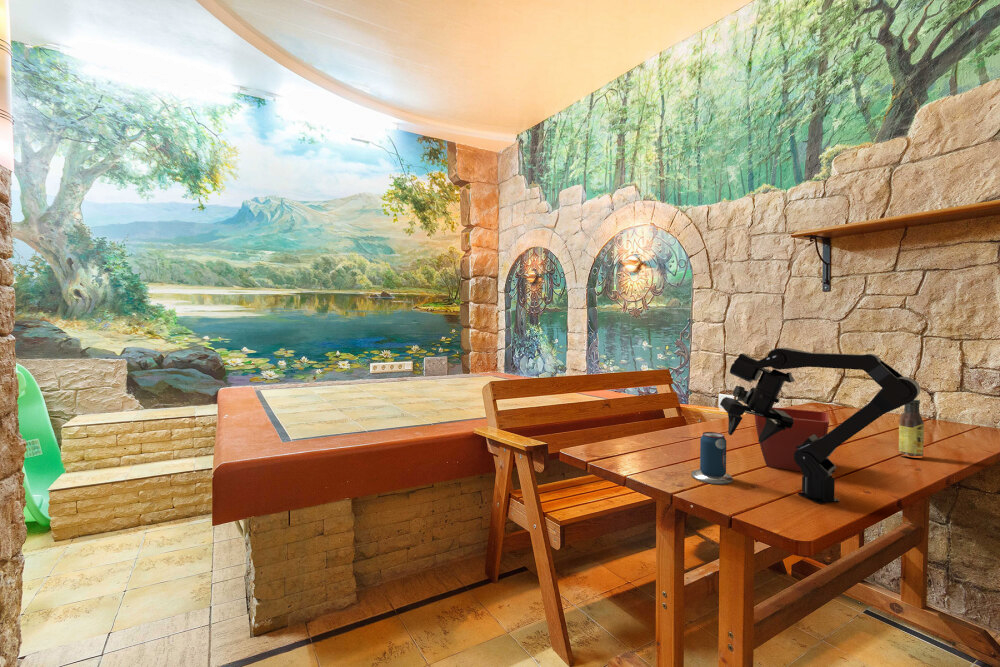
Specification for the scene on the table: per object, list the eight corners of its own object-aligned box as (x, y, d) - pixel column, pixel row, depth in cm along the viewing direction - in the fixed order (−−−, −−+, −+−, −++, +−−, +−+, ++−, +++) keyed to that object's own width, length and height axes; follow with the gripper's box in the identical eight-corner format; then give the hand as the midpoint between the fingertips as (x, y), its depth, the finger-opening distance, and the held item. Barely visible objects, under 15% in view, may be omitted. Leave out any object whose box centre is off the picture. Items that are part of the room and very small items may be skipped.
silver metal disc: (741, 483, 126) (741, 480, 126) (707, 485, 124) (707, 482, 124) (715, 470, 137) (715, 467, 137) (683, 473, 135) (683, 470, 135)
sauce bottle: (922, 461, 148) (923, 401, 147) (897, 456, 153) (898, 399, 152) (924, 457, 152) (925, 399, 152) (900, 453, 157) (901, 396, 156)
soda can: (730, 479, 127) (730, 437, 127) (704, 478, 128) (705, 436, 128) (720, 471, 134) (720, 431, 134) (696, 470, 135) (696, 431, 134)
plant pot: (759, 453, 156) (760, 405, 156) (826, 463, 145) (827, 411, 145) (753, 467, 141) (753, 414, 140) (828, 479, 130) (829, 422, 129)
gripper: (781, 386, 132) (760, 431, 137) (722, 371, 131) (702, 417, 136) (805, 402, 121) (781, 451, 126) (741, 386, 121) (718, 436, 125)
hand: (744, 438), depth 128 cm, fingers open, 9 cm apart
